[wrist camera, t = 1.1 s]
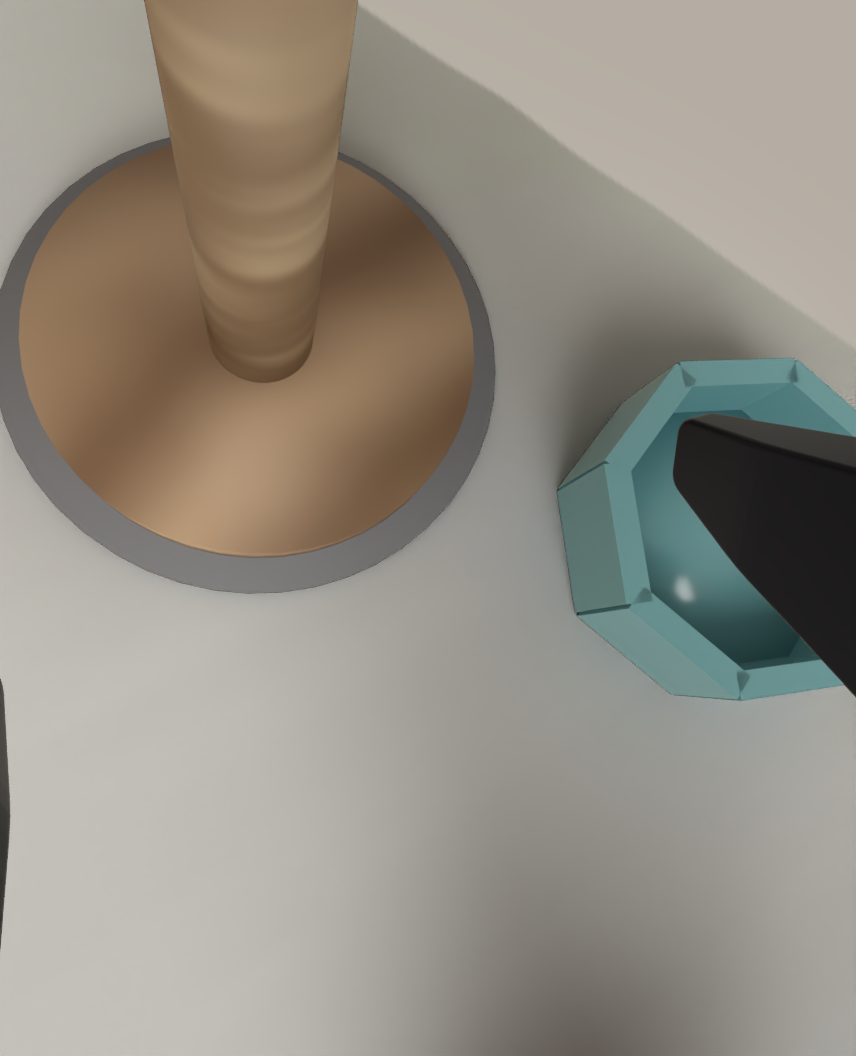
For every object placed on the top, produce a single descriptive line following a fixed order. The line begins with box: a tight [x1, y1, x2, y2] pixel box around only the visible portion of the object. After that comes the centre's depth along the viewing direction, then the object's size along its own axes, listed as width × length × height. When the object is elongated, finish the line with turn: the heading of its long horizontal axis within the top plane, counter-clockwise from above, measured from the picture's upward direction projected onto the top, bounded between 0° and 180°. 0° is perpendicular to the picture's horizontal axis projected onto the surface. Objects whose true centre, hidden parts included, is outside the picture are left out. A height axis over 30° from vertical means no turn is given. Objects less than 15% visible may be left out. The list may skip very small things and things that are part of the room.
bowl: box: [557, 358, 856, 701], centre depth 23 cm, size 10×10×4 cm
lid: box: [19, 0, 474, 558], centre depth 16 cm, size 13×13×13 cm
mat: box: [0, 138, 495, 594], centre depth 22 cm, size 15×15×1 cm
